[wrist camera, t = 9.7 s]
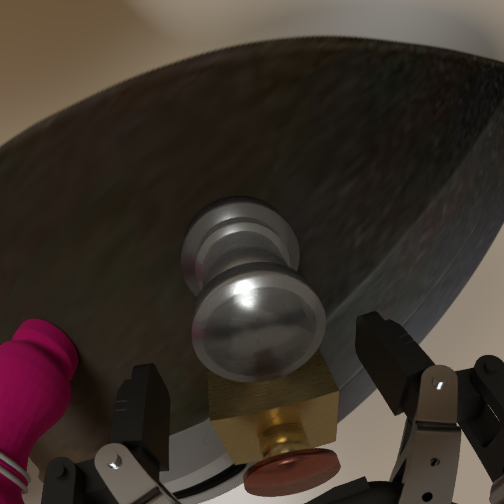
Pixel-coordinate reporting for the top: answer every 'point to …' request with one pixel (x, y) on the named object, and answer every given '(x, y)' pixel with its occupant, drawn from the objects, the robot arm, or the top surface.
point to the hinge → (200, 465)
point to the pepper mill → (31, 397)
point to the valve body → (270, 387)
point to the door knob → (252, 304)
